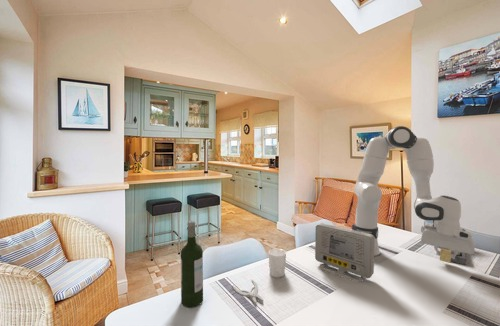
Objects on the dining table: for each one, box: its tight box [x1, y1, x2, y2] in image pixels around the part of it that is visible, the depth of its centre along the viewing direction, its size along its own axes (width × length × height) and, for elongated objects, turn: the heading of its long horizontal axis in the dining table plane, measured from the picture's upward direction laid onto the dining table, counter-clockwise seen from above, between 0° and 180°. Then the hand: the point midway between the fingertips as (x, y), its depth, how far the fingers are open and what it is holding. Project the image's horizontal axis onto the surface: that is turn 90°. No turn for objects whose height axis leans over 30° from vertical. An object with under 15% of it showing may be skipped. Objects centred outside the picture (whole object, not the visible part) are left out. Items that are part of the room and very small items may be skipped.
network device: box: [314, 222, 375, 283], centre depth 108 cm, size 26×9×20 cm, turn 47°
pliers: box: [232, 279, 264, 306], centre depth 92 cm, size 10×2×15 cm
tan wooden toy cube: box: [439, 247, 451, 264], centre depth 116 cm, size 4×4×5 cm
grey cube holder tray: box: [444, 248, 467, 266], centre depth 126 cm, size 8×20×3 cm, turn 140°
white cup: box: [268, 248, 287, 278], centre depth 107 cm, size 8×8×10 cm
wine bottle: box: [180, 220, 204, 309], centre depth 86 cm, size 8×8×30 cm
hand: (445, 256), depth 116 cm, fingers closed on tan wooden toy cube, 4 cm apart
